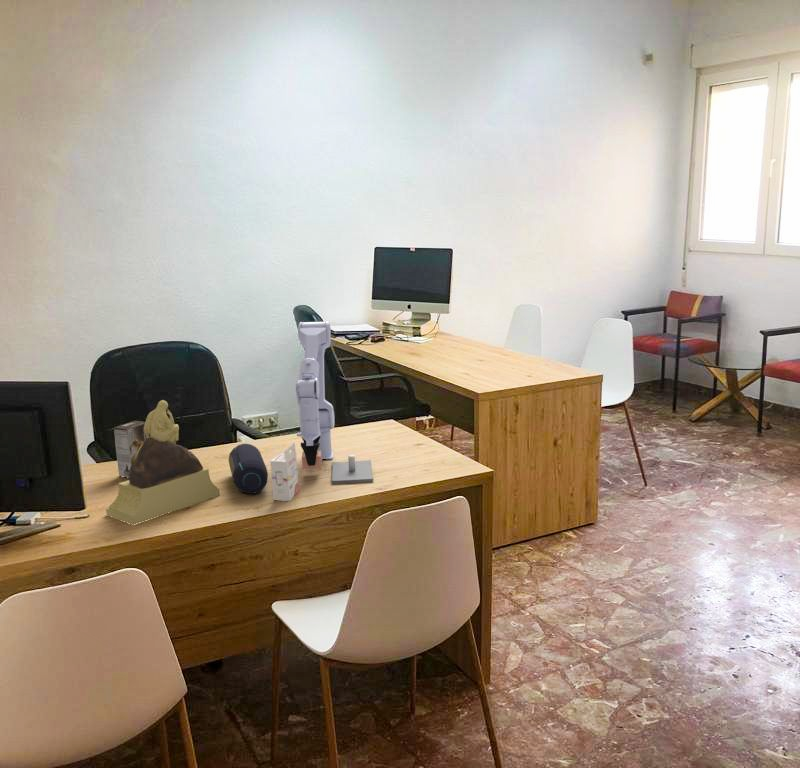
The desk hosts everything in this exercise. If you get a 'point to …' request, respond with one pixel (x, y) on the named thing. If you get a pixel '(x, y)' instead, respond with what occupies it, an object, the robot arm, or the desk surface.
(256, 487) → the portable speaker
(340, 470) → the post base
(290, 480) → the ink cartridge box
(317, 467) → the collar
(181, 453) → the seated figure statue
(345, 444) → the desk surface
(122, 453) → the coffee box
